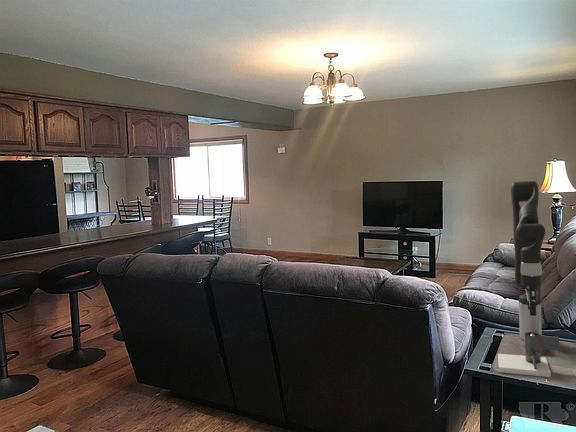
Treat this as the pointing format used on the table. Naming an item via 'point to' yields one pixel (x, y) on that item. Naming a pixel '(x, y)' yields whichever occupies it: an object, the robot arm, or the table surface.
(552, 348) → the grey rectangular block
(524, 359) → the board
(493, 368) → the table surface
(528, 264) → the robot arm
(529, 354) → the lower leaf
